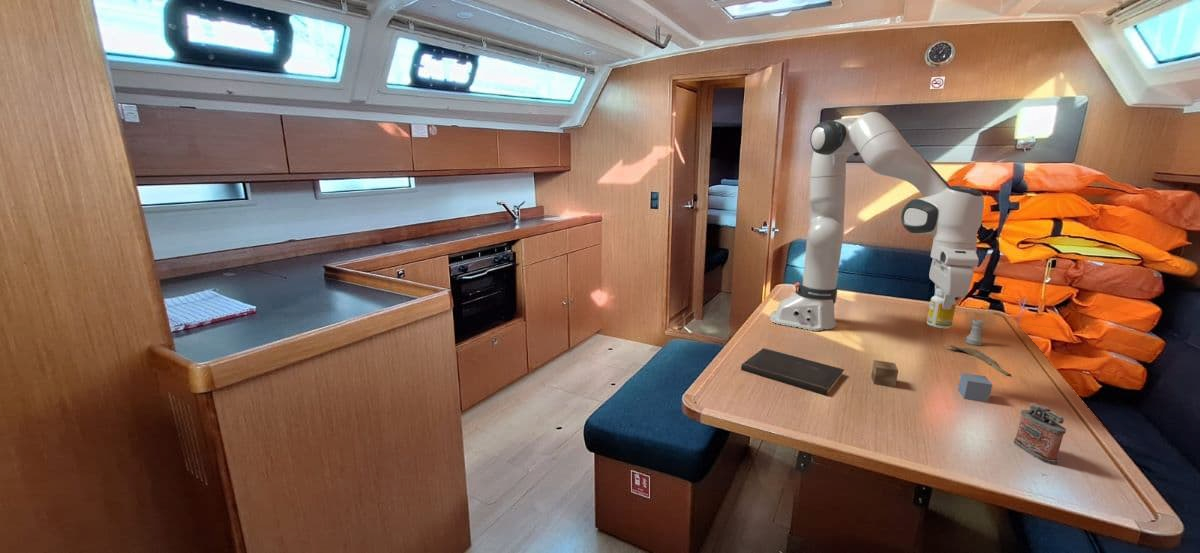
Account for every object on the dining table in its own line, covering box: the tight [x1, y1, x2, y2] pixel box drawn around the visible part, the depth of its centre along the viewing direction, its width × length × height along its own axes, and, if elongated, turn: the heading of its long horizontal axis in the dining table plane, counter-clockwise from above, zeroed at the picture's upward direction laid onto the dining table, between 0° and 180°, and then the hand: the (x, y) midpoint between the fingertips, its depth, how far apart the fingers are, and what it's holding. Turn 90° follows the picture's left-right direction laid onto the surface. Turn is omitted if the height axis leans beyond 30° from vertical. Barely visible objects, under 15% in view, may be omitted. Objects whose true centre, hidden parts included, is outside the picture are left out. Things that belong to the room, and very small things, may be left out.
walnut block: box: [870, 359, 899, 388], centre depth 127 cm, size 5×5×5 cm
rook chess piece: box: [964, 318, 985, 346], centre depth 154 cm, size 4×4×8 cm
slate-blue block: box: [957, 372, 993, 403], centre depth 120 cm, size 5×5×5 cm
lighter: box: [1013, 402, 1067, 465], centre depth 96 cm, size 8×3×10 cm, turn 5°
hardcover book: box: [740, 347, 845, 397], centre depth 133 cm, size 16×23×2 cm
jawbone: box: [943, 343, 1012, 377], centre depth 142 cm, size 9×20×2 cm, turn 14°
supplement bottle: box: [926, 288, 957, 329], centre depth 122 cm, size 5×5×10 cm
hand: (942, 304), depth 122 cm, fingers closed on supplement bottle, 5 cm apart
